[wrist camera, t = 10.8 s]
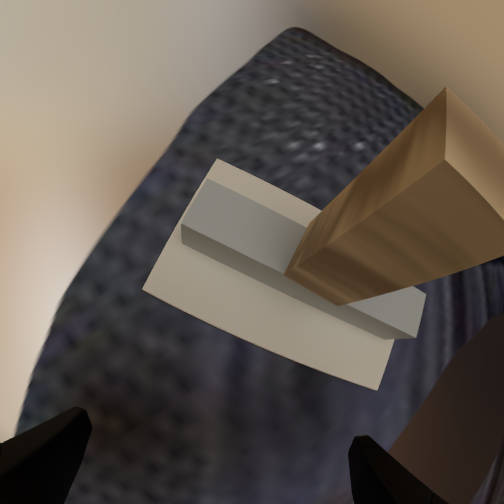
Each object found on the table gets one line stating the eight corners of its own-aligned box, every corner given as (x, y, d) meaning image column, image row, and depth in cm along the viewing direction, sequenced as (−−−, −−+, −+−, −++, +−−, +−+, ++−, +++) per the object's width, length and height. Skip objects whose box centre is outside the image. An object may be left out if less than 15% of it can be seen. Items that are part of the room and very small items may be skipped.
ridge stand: (371, 389, 22) (407, 396, 17) (143, 290, 20) (131, 278, 16) (407, 266, 26) (441, 252, 21) (216, 163, 24) (223, 128, 20)
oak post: (337, 306, 18) (525, 246, 6) (283, 275, 18) (444, 159, 6) (358, 253, 19) (516, 159, 7) (309, 222, 19) (446, 86, 7)
